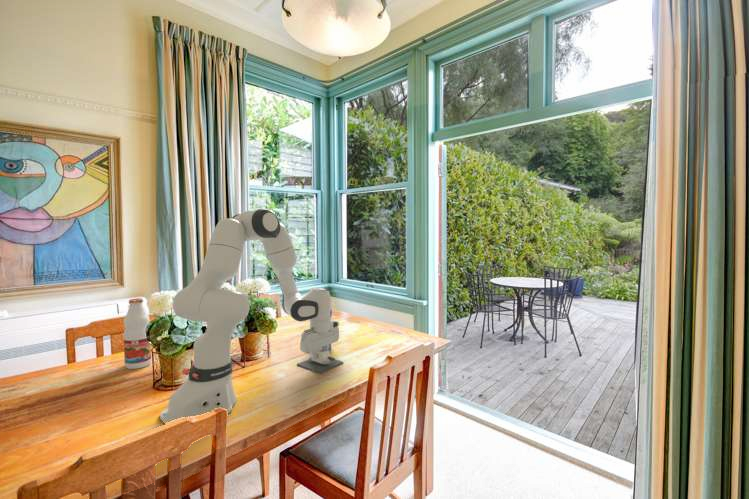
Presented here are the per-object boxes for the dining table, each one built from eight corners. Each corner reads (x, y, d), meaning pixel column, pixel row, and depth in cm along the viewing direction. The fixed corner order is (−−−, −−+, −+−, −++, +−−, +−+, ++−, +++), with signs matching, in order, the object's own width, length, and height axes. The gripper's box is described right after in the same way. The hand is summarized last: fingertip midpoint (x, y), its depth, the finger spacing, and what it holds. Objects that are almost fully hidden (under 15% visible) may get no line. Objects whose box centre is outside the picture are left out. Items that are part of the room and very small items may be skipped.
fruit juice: (154, 359, 157) (152, 296, 155) (147, 368, 148) (145, 301, 146) (129, 361, 154) (126, 297, 152) (121, 370, 145) (118, 302, 143)
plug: (336, 363, 152) (337, 352, 151) (330, 366, 148) (330, 355, 148) (311, 355, 161) (311, 344, 160) (304, 357, 158) (304, 346, 157)
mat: (320, 373, 145) (320, 372, 145) (296, 365, 153) (296, 363, 153) (343, 363, 156) (343, 361, 156) (320, 355, 165) (320, 354, 165)
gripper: (307, 332, 143) (307, 366, 144) (341, 321, 160) (341, 351, 161) (296, 329, 147) (296, 362, 148) (331, 319, 163) (331, 348, 165)
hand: (320, 356), depth 155 cm, fingers closed on plug, 4 cm apart
